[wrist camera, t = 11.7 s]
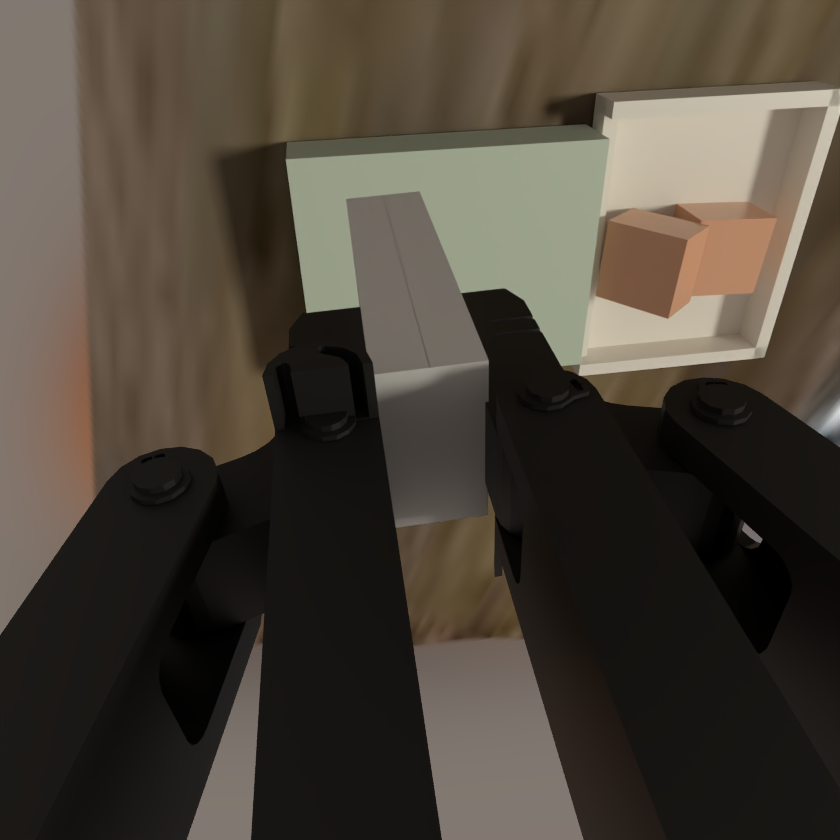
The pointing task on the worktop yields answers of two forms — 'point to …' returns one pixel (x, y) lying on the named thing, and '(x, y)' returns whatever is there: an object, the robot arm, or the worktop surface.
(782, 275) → the tray
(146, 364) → the worktop surface
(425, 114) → the worktop surface
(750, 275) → the tile far
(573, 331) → the board
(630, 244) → the tile near
